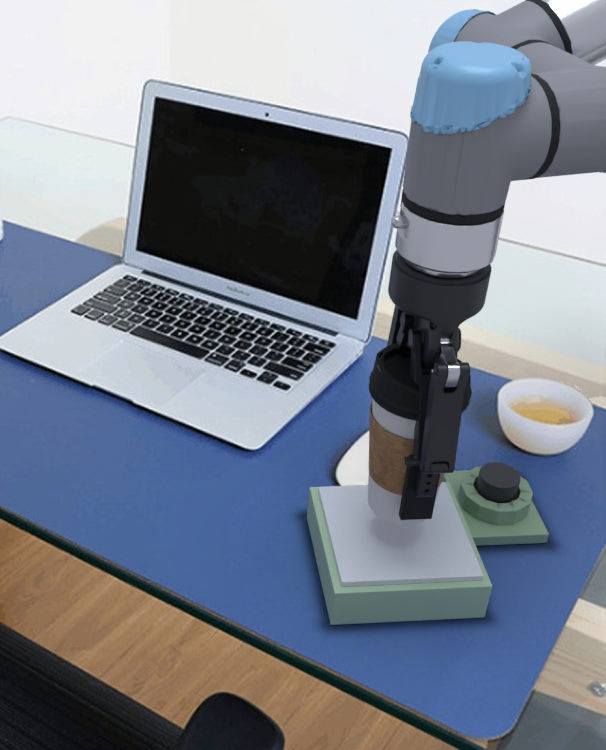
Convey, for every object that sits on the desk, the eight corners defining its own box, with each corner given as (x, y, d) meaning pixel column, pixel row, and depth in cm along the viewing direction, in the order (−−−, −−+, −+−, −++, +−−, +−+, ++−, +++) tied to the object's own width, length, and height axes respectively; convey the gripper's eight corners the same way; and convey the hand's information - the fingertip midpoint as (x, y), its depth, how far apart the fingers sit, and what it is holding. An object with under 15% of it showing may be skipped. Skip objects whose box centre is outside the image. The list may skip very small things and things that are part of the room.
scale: (443, 512, 101) (450, 477, 99) (484, 617, 90) (494, 581, 87) (306, 517, 100) (309, 482, 97) (330, 625, 88) (335, 588, 86)
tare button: (509, 476, 102) (513, 460, 101) (522, 502, 99) (526, 487, 98) (471, 478, 102) (474, 462, 100) (482, 504, 98) (486, 488, 97)
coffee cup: (368, 463, 95) (387, 328, 86) (456, 488, 92) (484, 351, 84) (341, 518, 88) (359, 379, 80) (435, 546, 86) (464, 405, 77)
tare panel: (513, 477, 106) (519, 454, 104) (546, 543, 98) (553, 520, 96) (440, 479, 105) (444, 457, 104) (467, 546, 97) (472, 523, 95)
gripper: (367, 200, 84) (341, 417, 97) (428, 326, 68) (387, 569, 80) (454, 199, 85) (417, 415, 98) (536, 324, 68) (478, 565, 81)
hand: (403, 484), depth 89 cm, fingers closed on coffee cup, 8 cm apart
